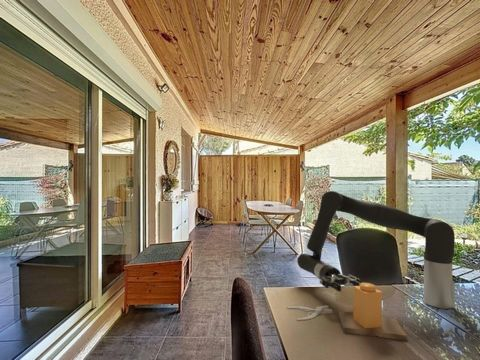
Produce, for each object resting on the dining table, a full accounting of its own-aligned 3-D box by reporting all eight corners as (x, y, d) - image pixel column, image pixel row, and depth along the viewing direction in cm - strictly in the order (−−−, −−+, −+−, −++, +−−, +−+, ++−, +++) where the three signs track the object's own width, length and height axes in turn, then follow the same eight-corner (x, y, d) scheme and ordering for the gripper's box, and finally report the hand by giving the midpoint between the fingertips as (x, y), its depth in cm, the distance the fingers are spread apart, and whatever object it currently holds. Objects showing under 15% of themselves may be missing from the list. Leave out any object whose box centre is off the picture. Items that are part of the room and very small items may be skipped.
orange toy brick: (368, 317, 92) (369, 281, 93) (381, 326, 87) (382, 288, 87) (353, 319, 91) (353, 282, 91) (365, 328, 85) (365, 289, 85)
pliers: (286, 304, 102) (323, 301, 105) (286, 308, 102) (323, 305, 105) (297, 317, 92) (337, 313, 95) (297, 321, 92) (337, 318, 95)
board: (394, 322, 92) (394, 303, 92) (406, 340, 82) (407, 318, 82) (338, 315, 96) (339, 297, 96) (343, 332, 86) (343, 311, 86)
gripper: (311, 265, 112) (333, 278, 96) (342, 263, 115) (368, 276, 99) (311, 283, 112) (332, 300, 96) (342, 281, 115) (368, 297, 99)
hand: (350, 288), depth 98 cm, fingers open, 8 cm apart
